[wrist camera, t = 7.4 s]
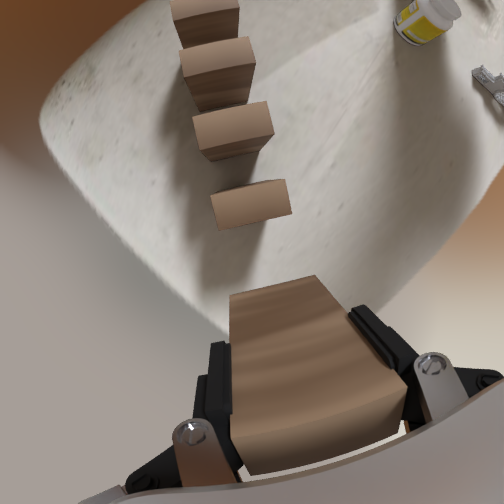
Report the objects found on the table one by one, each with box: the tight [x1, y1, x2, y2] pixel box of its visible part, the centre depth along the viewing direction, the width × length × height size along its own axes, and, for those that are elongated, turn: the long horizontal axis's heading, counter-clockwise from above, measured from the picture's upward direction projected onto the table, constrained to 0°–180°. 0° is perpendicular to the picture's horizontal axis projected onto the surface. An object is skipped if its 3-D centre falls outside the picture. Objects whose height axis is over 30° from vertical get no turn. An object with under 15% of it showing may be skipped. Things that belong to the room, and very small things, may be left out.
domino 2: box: [179, 36, 256, 112], centre depth 20 cm, size 2×5×10 cm, turn 102°
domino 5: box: [229, 275, 407, 476], centre depth 11 cm, size 2×5×10 cm, turn 102°
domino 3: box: [192, 101, 275, 162], centre depth 22 cm, size 2×5×10 cm, turn 102°
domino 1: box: [170, 0, 240, 49], centre depth 19 cm, size 2×5×10 cm, turn 103°
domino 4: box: [210, 179, 292, 231], centre depth 23 cm, size 2×5×10 cm, turn 102°
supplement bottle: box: [394, 0, 461, 46], centre depth 19 cm, size 5×5×10 cm
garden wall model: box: [472, 65, 504, 106], centre depth 23 cm, size 12×2×6 cm, turn 74°
